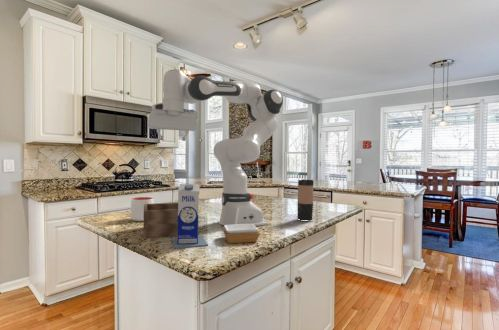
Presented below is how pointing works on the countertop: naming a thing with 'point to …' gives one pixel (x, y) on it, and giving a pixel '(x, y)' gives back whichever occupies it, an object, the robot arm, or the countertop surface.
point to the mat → (200, 243)
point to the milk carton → (188, 213)
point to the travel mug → (305, 199)
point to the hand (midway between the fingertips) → (172, 140)
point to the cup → (139, 207)
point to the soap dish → (241, 233)
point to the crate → (160, 220)
